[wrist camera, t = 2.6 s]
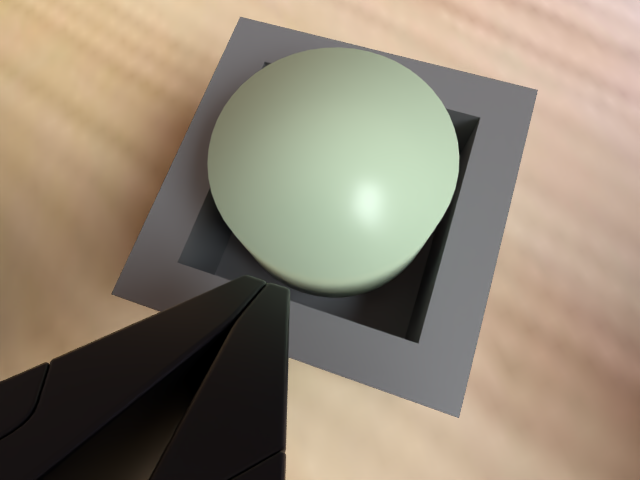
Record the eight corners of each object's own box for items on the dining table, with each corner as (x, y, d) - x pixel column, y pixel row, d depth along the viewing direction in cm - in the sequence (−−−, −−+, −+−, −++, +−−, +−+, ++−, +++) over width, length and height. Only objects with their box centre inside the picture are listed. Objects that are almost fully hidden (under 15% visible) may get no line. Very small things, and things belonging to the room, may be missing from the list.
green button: (401, 325, 12) (420, 313, 9) (208, 261, 12) (167, 230, 9) (453, 143, 13) (485, 79, 10) (277, 96, 14) (259, 24, 11)
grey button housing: (408, 394, 18) (459, 418, 10) (206, 322, 19) (111, 294, 11) (462, 196, 20) (538, 90, 12) (278, 144, 21) (240, 16, 13)
